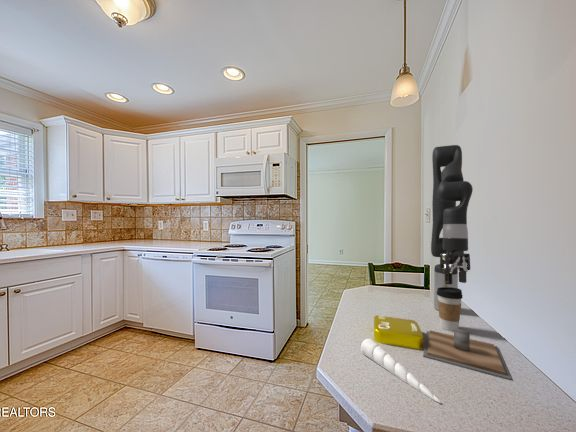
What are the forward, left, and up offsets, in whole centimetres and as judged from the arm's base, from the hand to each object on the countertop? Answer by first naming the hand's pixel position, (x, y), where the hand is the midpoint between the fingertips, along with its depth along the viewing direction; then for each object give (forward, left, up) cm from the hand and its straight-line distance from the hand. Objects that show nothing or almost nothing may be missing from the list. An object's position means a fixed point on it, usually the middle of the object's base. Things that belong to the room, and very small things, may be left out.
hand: (455, 283), depth 88 cm
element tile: (+10, -18, -20) cm, 29 cm away
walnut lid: (+10, +1, -19) cm, 21 cm away
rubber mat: (+10, +1, -19) cm, 22 cm away
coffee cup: (-9, -2, -19) cm, 21 cm away
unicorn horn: (+33, -15, -20) cm, 41 cm away
